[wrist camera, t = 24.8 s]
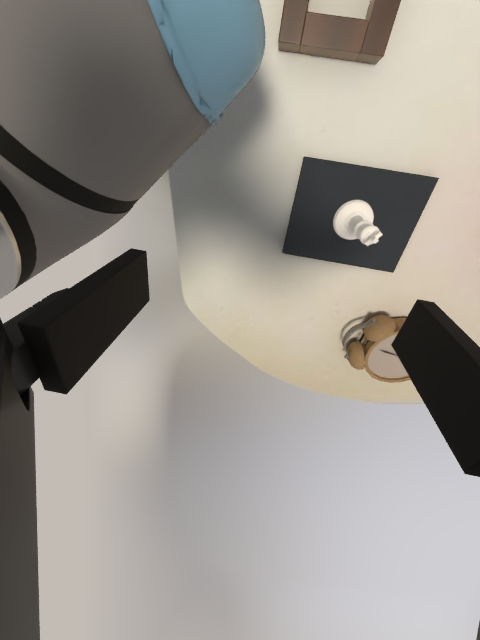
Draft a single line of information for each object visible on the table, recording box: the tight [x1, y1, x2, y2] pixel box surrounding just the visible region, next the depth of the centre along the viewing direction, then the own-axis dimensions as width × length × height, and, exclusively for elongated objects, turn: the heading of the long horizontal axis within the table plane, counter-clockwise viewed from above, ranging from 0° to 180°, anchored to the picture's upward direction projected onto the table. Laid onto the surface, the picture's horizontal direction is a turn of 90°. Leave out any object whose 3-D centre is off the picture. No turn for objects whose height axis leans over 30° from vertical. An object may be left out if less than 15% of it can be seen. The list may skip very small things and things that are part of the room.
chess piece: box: [333, 200, 383, 246], centre depth 30 cm, size 5×5×10 cm
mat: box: [283, 157, 439, 272], centre depth 35 cm, size 16×12×1 cm
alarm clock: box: [343, 315, 410, 383], centre depth 43 cm, size 11×5×15 cm
